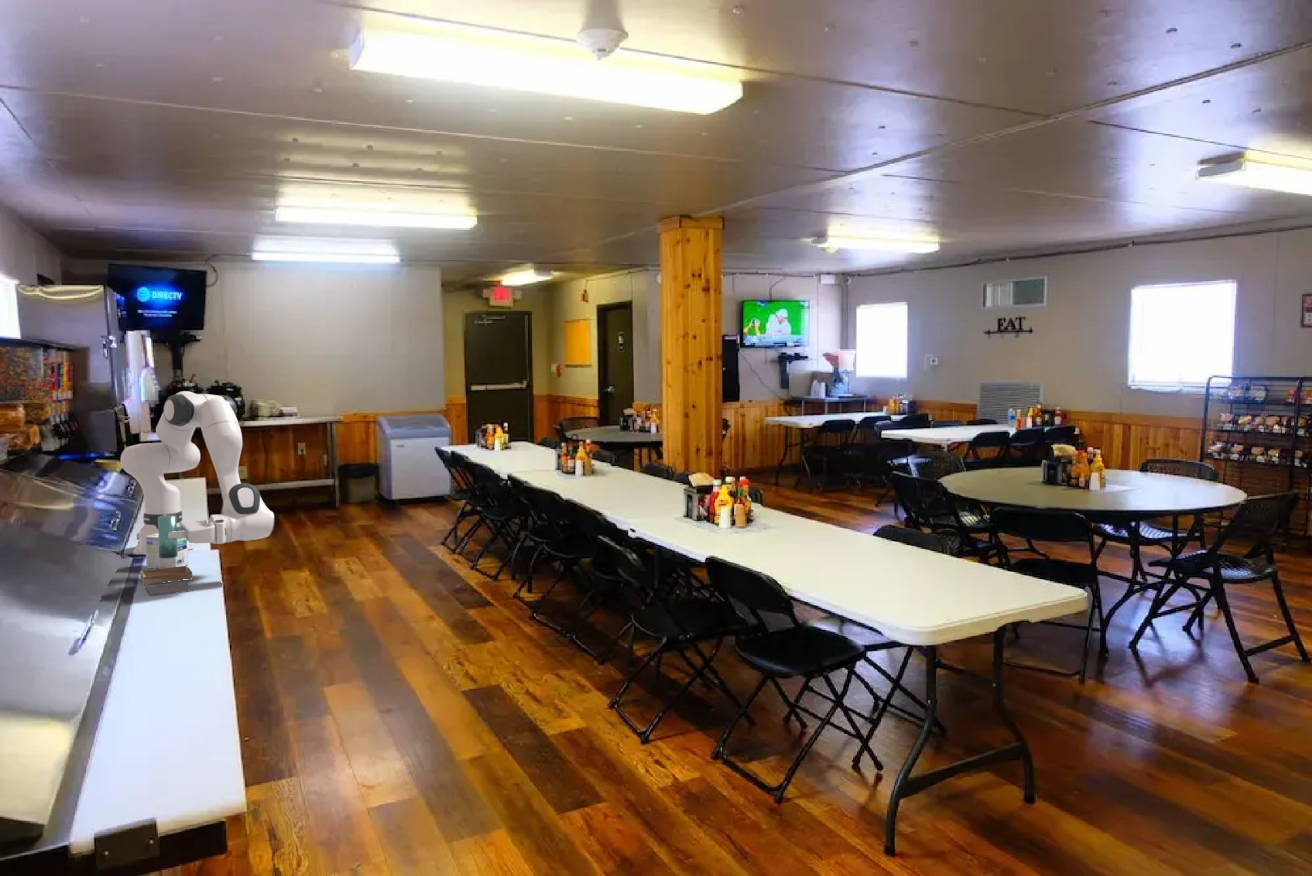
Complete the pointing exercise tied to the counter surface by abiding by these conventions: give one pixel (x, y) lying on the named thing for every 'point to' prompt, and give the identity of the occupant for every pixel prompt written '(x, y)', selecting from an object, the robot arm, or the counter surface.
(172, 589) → the rubber mat
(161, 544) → the teal translucent cylinder
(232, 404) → the robot arm
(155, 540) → the light bulb box
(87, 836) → the counter surface
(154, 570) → the wooden frame
